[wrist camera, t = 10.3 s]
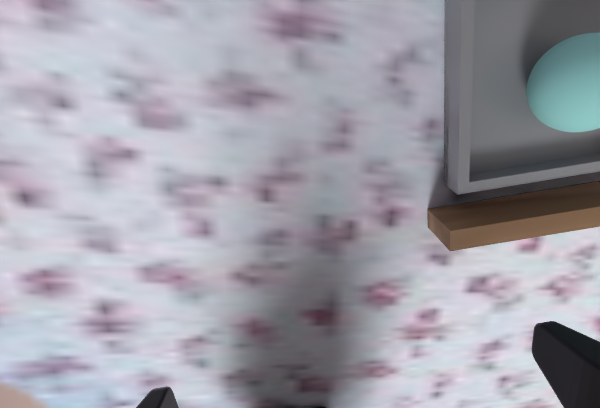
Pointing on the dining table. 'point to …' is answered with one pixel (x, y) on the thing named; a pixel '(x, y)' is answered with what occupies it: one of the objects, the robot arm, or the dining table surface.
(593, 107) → the ball
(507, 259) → the dining table surface
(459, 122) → the tray
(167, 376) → the dining table surface
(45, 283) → the dining table surface
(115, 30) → the dining table surface
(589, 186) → the rail
